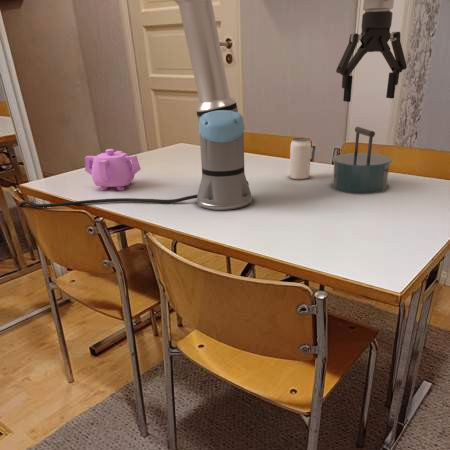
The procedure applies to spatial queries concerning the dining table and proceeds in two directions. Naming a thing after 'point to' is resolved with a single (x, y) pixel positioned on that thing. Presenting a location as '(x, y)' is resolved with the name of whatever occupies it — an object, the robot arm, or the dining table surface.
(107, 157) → the pot
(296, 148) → the can
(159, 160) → the dining table surface
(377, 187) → the pot
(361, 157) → the lid
